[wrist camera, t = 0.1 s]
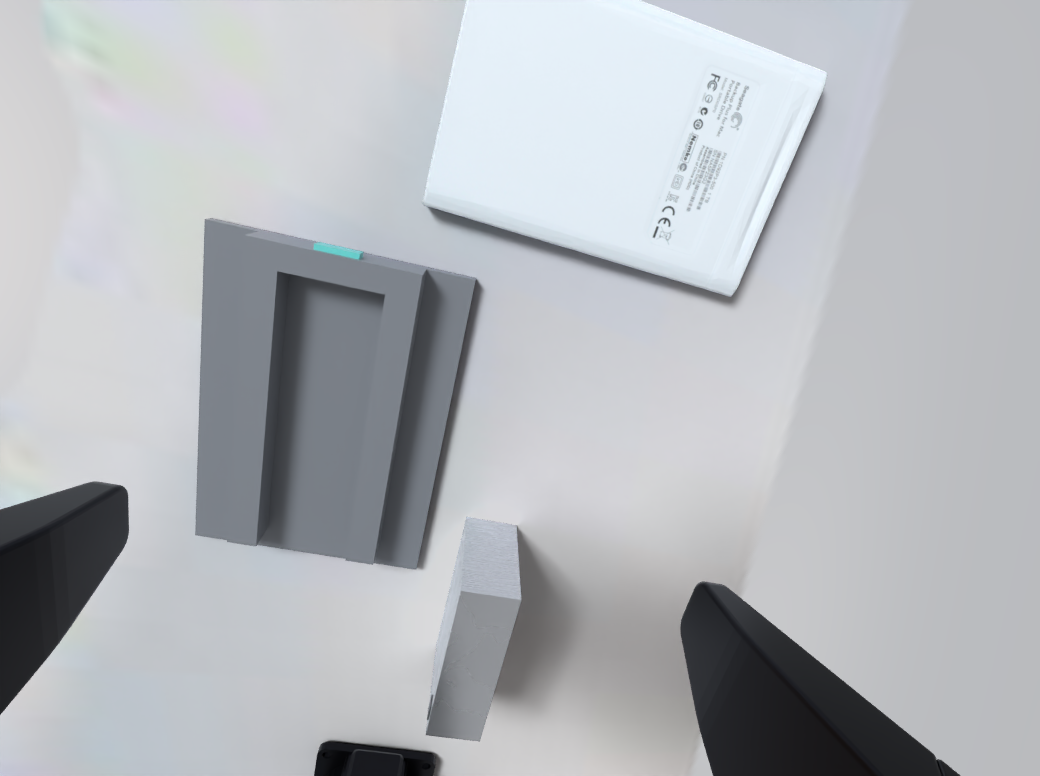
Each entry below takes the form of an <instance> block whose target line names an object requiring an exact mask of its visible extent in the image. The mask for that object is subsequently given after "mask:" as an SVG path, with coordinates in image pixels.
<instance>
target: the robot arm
mask: <svg viewBox="0 0 1040 776" xmlns="http://www.w3.org/2000/svg"><path fill="white" fill-rule="evenodd" d="M128 534H129V517H128V493H127V490H126V489H125V488H124V487H123V486H121V485H115V484H109V483H103V482H89V483H86V484H83V485H79V486H76V487H73V488H70V489H66V490H63V491H60V492H56V493H53V494H50V495H47V496H43V497H40V498H37V499H34V500H30V501H27V502H24V503H20V504H17V505H14V506H11V507H7V508H4V509H1V510H0V715H1V713H2V712H3V711H4V710H5V709H6V707H7V706H8V705H9V704H10V702H11V701H12V700H13V699H14V698H15V696H16V695H17V694H18V693H19V692H20V690H21V689H22V688H23V687H24V686H25V684H26V683H27V682H28V681H29V680H30V678H31V677H32V676H33V675H34V673H35V672H36V671H37V670H38V669H39V667H40V666H41V665H42V664H43V663H44V661H45V660H46V659H47V658H48V656H49V655H50V654H51V653H52V651H53V650H54V649H55V648H56V646H57V645H58V644H59V642H60V641H61V640H62V638H63V637H64V635H65V634H66V633H67V631H68V630H69V628H70V627H71V626H72V624H73V623H74V621H75V620H76V618H77V617H78V615H79V614H80V612H81V611H82V609H83V608H84V606H85V605H86V603H87V602H88V600H89V599H90V597H91V596H92V594H93V593H94V592H95V590H96V589H97V587H98V586H99V584H100V583H101V581H102V580H103V578H104V577H105V575H106V574H107V572H108V571H109V569H110V568H111V566H112V565H113V563H114V562H115V560H116V559H117V557H118V556H119V555H120V553H121V552H122V550H123V548H124V546H125V544H126V542H127V539H128ZM680 628H681V638H682V643H683V648H684V653H685V658H686V664H687V669H688V674H689V679H690V684H691V690H692V695H693V700H694V705H695V710H696V715H697V719H698V724H699V728H700V732H701V735H702V739H703V743H704V746H705V749H706V753H707V756H708V760H709V763H710V766H711V770H712V773H713V776H960V775H959V774H958V773H957V772H955V771H954V770H953V769H952V768H950V767H949V766H948V765H947V764H945V763H944V762H943V761H942V760H939V759H938V760H936V757H935V755H934V754H933V753H932V752H930V751H929V750H928V749H927V748H925V747H924V746H923V745H922V744H921V743H919V742H918V741H917V740H916V739H914V738H913V737H912V736H911V735H909V734H908V733H907V732H906V731H904V730H903V729H902V728H901V727H899V726H898V725H897V724H896V723H895V722H893V721H892V720H891V719H889V718H888V717H887V716H886V715H885V714H883V713H882V712H881V711H880V710H878V709H877V708H876V707H875V706H873V705H872V704H871V703H870V702H868V701H867V700H866V699H865V698H863V697H862V696H861V695H860V694H859V693H857V692H856V691H855V690H854V689H852V688H851V687H850V686H849V685H847V684H846V683H845V682H844V681H842V680H841V679H840V678H839V677H838V676H836V675H835V674H834V673H832V672H831V671H830V670H829V669H828V668H826V667H825V666H824V665H823V664H821V663H820V662H819V661H818V660H816V659H815V658H814V657H812V656H811V655H810V654H809V653H808V652H807V651H805V650H804V649H803V648H802V647H800V646H799V645H798V644H797V643H795V642H794V641H793V640H792V639H790V638H789V637H788V636H787V635H786V634H784V633H783V632H781V630H779V629H778V628H777V627H776V626H774V625H773V624H772V623H771V622H769V621H768V620H767V619H766V618H764V617H763V616H762V615H761V614H760V613H758V612H757V611H756V610H754V609H753V608H752V607H751V606H750V605H748V604H747V603H746V602H745V601H743V600H742V599H741V598H740V597H739V596H737V595H736V594H735V593H734V592H732V591H731V590H730V589H729V588H727V587H726V586H724V585H722V584H716V583H710V582H700V583H698V584H697V585H696V587H695V589H694V591H693V593H692V596H691V598H690V600H689V603H688V605H687V607H686V610H685V612H684V614H683V617H682V620H681V627H680ZM435 762H436V758H435V756H434V755H432V754H429V753H421V752H412V751H404V750H395V749H386V748H378V747H369V746H360V745H351V744H343V743H334V742H325V743H322V744H321V745H320V747H319V751H318V754H317V760H316V767H315V774H314V776H433V773H434V769H435Z"/></svg>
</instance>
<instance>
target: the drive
mask: <svg viewBox="0 0 1040 776" xmlns="http://www.w3.org/2000/svg"><path fill="white" fill-rule="evenodd" d="M520 603H521V586H520V571H519V556H518V542H517V527H516V525H512V524H507V523H501V522H495V521H489V520H483V519H477V518H471V517H466V521H465V525H464V530H463V534H462V538H461V542H460V547H459V551H458V555H457V559H456V564H455V568H454V572H453V576H452V581H451V585H450V589H449V593H448V598H447V602H446V606H445V610H444V615H443V619H442V623H441V627H440V632H439V636H438V640H437V644H436V652H435V661H434V669H433V677H432V686H431V694H430V702H429V708H428V716H427V727H426V735H429V736H438V737H446V738H455V739H463V740H472V741H480V739H481V735H482V732H483V729H484V725H485V722H486V719H487V715H488V712H489V708H490V705H491V702H492V698H493V695H494V691H495V688H496V685H497V681H498V678H499V675H500V671H501V668H502V664H503V661H504V658H505V654H506V651H507V647H508V644H509V641H510V637H511V634H512V631H513V627H514V624H515V620H516V617H517V614H518V610H519V607H520Z"/></svg>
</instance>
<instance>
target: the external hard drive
mask: <svg viewBox="0 0 1040 776" xmlns="http://www.w3.org/2000/svg"><path fill="white" fill-rule="evenodd" d="M826 79H827V72H825V71H823V70H821V69H818V68H815V67H812V66H810V65H807V64H804V63H801V62H799V61H796V60H794V59H791V58H789V57H786V56H784V55H781V54H779V53H776V52H774V51H771V50H768V49H766V48H763V47H760V46H758V45H755V44H753V43H750V42H748V41H745V40H743V39H740V38H737V37H735V36H732V35H730V34H727V33H724V32H722V31H719V30H717V29H714V28H711V27H709V26H706V25H704V24H701V23H698V22H695V21H693V20H690V19H688V18H685V17H682V16H680V15H677V14H674V13H672V12H669V11H667V10H664V9H661V8H659V7H656V6H654V5H651V4H649V3H646V2H643V1H640V0H466V5H465V9H464V14H463V18H462V23H461V28H460V32H459V37H458V41H457V46H456V51H455V55H454V60H453V64H452V69H451V73H450V78H449V83H448V87H447V92H446V97H445V101H444V105H443V110H442V115H441V119H440V123H439V128H438V133H437V137H436V141H435V146H434V151H433V155H432V160H431V164H430V169H429V174H428V178H427V183H426V189H425V193H424V198H423V201H422V203H423V205H424V206H427V207H431V208H434V209H438V210H441V211H445V212H448V213H451V214H455V215H458V216H462V217H465V218H468V219H471V220H474V221H478V222H481V223H484V224H488V225H491V226H494V227H498V228H501V229H504V230H508V231H511V232H514V233H518V234H521V235H524V236H528V237H531V238H534V239H538V240H541V241H545V242H548V243H551V244H555V245H558V246H561V247H565V248H568V249H571V250H575V251H578V252H581V253H585V254H588V255H591V256H595V257H598V258H601V259H605V260H608V261H612V262H615V263H618V264H622V265H625V266H628V267H632V268H635V269H638V270H642V271H645V272H648V273H652V274H655V275H658V276H662V277H665V278H669V279H672V280H675V281H679V282H682V283H685V284H689V285H692V286H696V287H699V288H703V289H706V290H709V291H712V292H716V293H719V294H723V295H726V296H729V297H731V296H732V295H733V294H734V292H735V291H736V289H737V288H738V286H739V283H740V281H741V279H742V276H743V274H744V272H745V269H746V267H747V265H748V262H749V260H750V258H751V255H752V253H753V250H754V248H755V245H756V243H757V241H758V238H759V236H760V234H761V232H762V229H763V227H764V225H765V222H766V220H767V218H768V216H769V213H770V211H771V208H772V206H773V204H774V202H775V199H776V197H777V195H778V193H779V190H780V188H781V186H782V183H783V181H784V179H785V177H786V174H787V172H788V170H789V167H790V165H791V163H792V160H793V158H794V156H795V153H796V151H797V149H798V147H799V144H800V142H801V140H802V137H803V135H804V133H805V130H806V128H807V126H808V124H809V121H810V119H811V117H812V114H813V112H814V110H815V108H816V105H817V103H818V100H819V98H820V96H821V94H822V92H823V89H824V86H825V82H826Z"/></svg>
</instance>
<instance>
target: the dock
mask: <svg viewBox="0 0 1040 776" xmlns="http://www.w3.org/2000/svg"><path fill="white" fill-rule="evenodd" d="M475 281H476V278H473V277H469V276H464V275H460V274H456V273H451V272H447V271H442V270H438V269H434V268H429V267H425V266H420V265H416V264H411V263H407V262H403V261H398V260H394V259H389V258H385V257H381V256H376V255H372V254H367V253H364V252H362V251H357V250H353V249H348V248H344V247H340V246H335V245H331V244H326V243H322V242H314V241H310V240H306V239H301V238H297V237H292V236H288V235H284V234H279V233H275V232H270V231H266V230H261V229H257V228H253V227H248V226H244V225H239V224H235V223H231V222H226V221H222V220H217V219H213V218H209V219H205V233H204V266H203V299H202V332H201V366H200V399H199V432H198V465H197V498H196V532H195V535H198V536H205V537H211V538H218V539H224V540H227V542H232V543H238V544H244V545H251V546H257V545H262V546H269V547H275V548H281V549H288V550H294V551H301V552H307V553H313V554H320V555H326V556H333V557H339V558H345V559H346V560H347V561H353V562H360V563H366V564H372V565H373V563H377V564H384V565H390V566H396V567H403V568H409V569H416V568H417V563H418V559H419V554H420V549H421V544H422V539H423V534H424V529H425V524H426V520H427V515H428V510H429V505H430V500H431V495H432V490H433V485H434V481H435V476H436V471H437V466H438V461H439V456H440V451H441V446H442V442H443V437H444V432H445V427H446V422H447V417H448V412H449V407H450V403H451V398H452V393H453V388H454V383H455V378H456V373H457V369H458V364H459V359H460V354H461V349H462V344H463V339H464V334H465V330H466V325H467V320H468V315H469V310H470V305H471V300H472V295H473V291H474V286H475Z"/></svg>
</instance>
